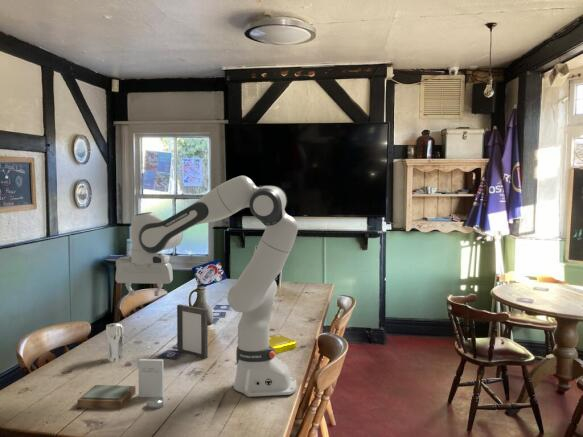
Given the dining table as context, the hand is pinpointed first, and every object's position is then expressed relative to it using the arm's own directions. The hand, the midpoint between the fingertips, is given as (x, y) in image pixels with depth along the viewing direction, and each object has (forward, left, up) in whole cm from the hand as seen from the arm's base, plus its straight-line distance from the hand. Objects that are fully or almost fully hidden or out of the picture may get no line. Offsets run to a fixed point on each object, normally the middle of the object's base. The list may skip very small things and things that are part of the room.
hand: (144, 295), depth 174 cm
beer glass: (+19, -18, -31) cm, 41 cm away
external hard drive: (-7, +14, -31) cm, 35 cm away
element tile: (-44, -38, -32) cm, 66 cm away
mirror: (+6, +18, -31) cm, 36 cm away
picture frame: (-11, -26, -31) cm, 42 cm away
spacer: (-11, +21, -31) cm, 39 cm away
